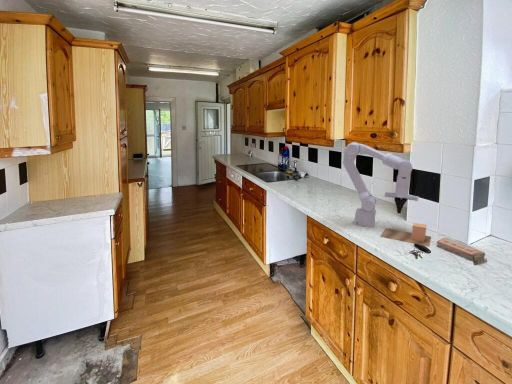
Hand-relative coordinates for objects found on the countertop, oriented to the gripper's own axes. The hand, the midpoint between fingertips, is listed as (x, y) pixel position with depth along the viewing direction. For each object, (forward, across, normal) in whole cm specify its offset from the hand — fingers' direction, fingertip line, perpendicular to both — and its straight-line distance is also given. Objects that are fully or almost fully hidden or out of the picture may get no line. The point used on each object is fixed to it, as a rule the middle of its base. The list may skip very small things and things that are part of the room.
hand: (399, 212), depth 148 cm
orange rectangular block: (+8, +10, -9) cm, 16 cm away
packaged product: (+10, +25, -15) cm, 31 cm away
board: (+9, +5, -9) cm, 14 cm away
